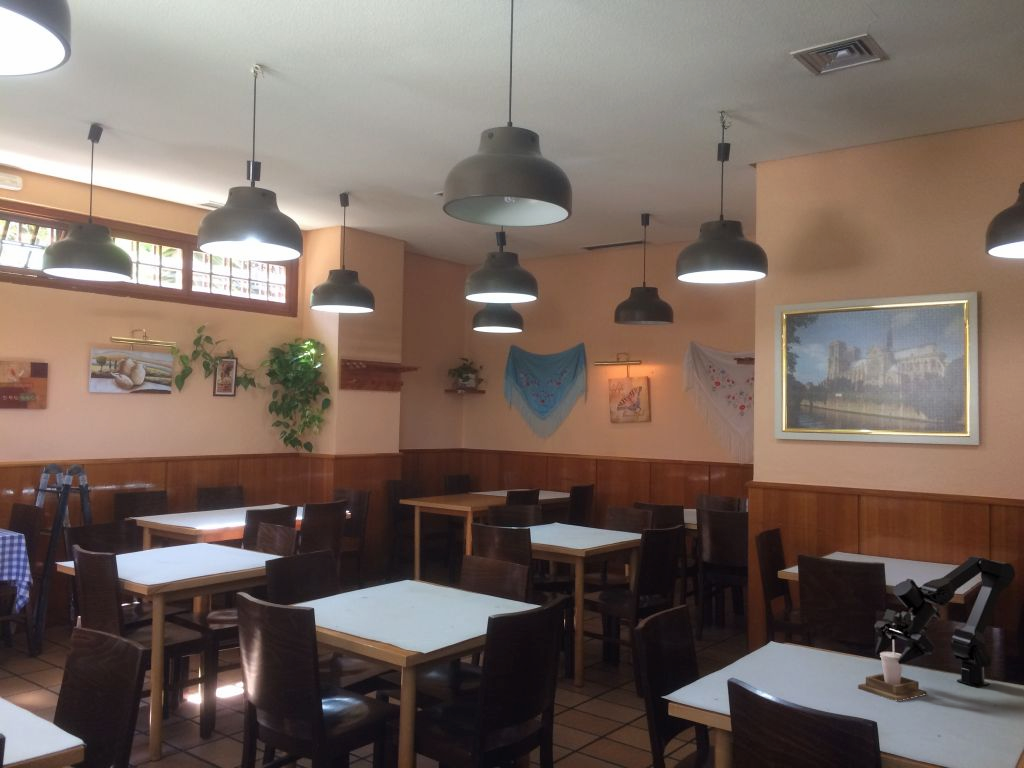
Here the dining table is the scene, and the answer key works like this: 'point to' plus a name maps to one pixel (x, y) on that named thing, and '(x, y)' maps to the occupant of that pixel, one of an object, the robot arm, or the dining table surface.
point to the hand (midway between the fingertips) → (887, 658)
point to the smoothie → (891, 666)
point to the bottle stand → (892, 687)
